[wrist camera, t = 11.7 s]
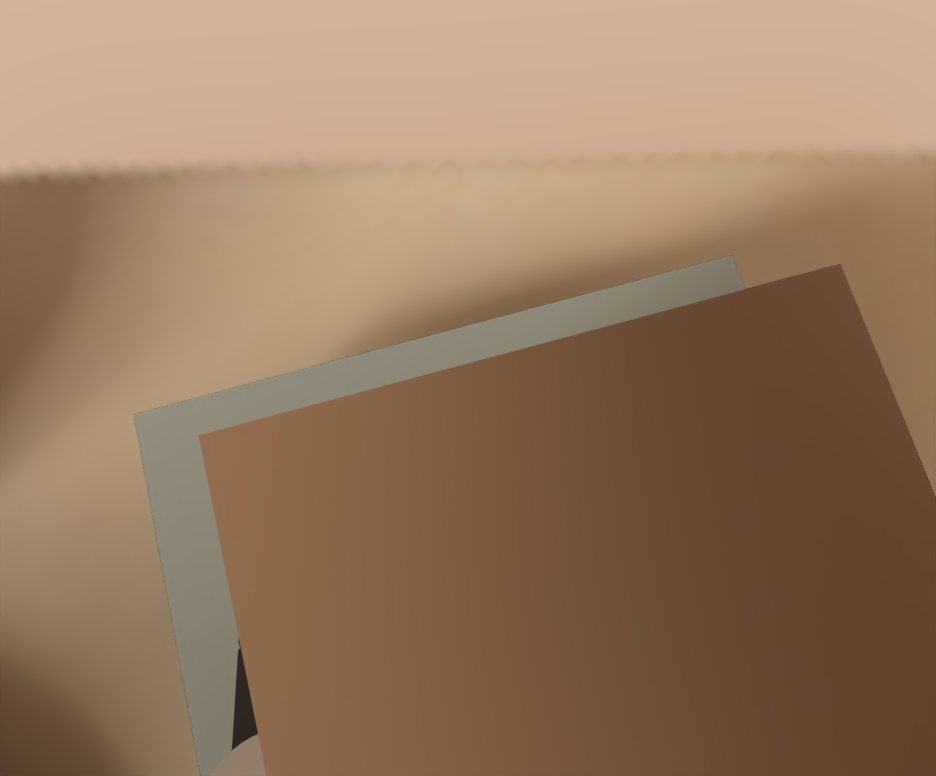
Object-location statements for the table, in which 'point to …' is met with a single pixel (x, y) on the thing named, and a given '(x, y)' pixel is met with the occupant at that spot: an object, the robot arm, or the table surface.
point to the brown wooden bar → (596, 557)
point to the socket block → (179, 425)
